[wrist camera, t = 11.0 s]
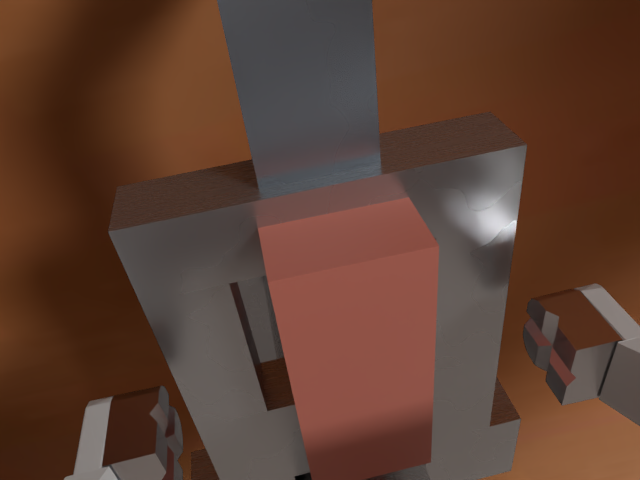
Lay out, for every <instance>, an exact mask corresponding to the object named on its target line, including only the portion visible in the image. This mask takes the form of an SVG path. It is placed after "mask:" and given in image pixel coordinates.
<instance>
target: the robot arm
mask: <svg viewBox="0 0 640 480" xmlns="http://www.w3.org/2000/svg"><path fill="white" fill-rule="evenodd" d="M527 313H528V314H529V315H530V317H531V318H530V319H529V320H528V321H527V322H526V324H525V325H524V331H523V338H524V343H525V348H526V350H527V352H528V354H529V357H530V358H531V360H532V361H533V363H534V364H535V365H536V366H538V367H539V368H541V369H543V370H545V371H547V374H546V382H547V384H548V385H549V387H550V388H551V390H552V391H553V393H554V394H555V396H556V397H557V399H558V400H559V402H560V403H561V405H566V404H571V403H575V402H580V401H584V400H589V399H593V398H598V397H599V400H601V401H602V402H604V403H605V404H607V405H608V406H610V407H612V408H613V409H615V410H616V411H618V412H619V413H621V414H622V415H624V416H625V417H627V418H628V419H630V420H631V421H633V422H634V423H636V424H638V425H639V426H640V326H639V325H638V324H637V323H636V322H635V321H634V320H633V319H632V318H631V317H630V316H629V315H628V313H627V312H626V311H625V310H624V309H623V308H622V307H621V306H620V305H619V304H618V303H617V302H616V301H615V300H614V299H613V298H612V297H611V295H610V294H609V293H608V292H607V291H606V290H605V289H604V288H603V287H602V286H600V285H598V284H596V283H595V284H591V285H587V286H583V287H578V288H574V289H568V290H564V291H560V292H556V293H552V294H548V295H544V296H540V297H536V298H532V299H531V300H530V301H529V302H528V306H527ZM182 452H183V436H182V428H181V423H180V419H179V416H178V414H177V411H176V409H175V408H174V407H172V406H169V394H168V393H167V391H166V389H165V387H164V386H158V387H153V388H148V389H144V390H139V391H134V392H129V393H124V394H120V395H115V396H111V397H106V398H102V399H97V400H93V401H89V403H88V405H87V407H86V408H85V412H84V418H83V423H82V429H81V434H80V440H79V445H78V450H77V456H76V461H75V467H74V472H73V475H70V476H67V477H65V478H64V480H183V470H182V468H181V466H180V464H179V462H178V458H179V457H180V455H181V453H182Z"/></svg>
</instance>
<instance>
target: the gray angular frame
mask: <svg viewBox="0 0 640 480" xmlns="http://www.w3.org/2000/svg"><path fill="white" fill-rule="evenodd" d="M217 2H218V6H219V11H220V15H221V20H222V24H223V29H224V33H225V38H226V42H227V47H228V51H229V56H230V60H231V65H232V70H233V74H234V79H235V83H236V88H237V92H238V97H239V101H240V106H241V110H242V115H243V119H244V124H245V128H246V133H247V137H248V142H249V146H250V151H251V155H252V160H247V161H242V162H237V163H232V164H227V165H223V166H218V167H213V168H208V169H203V170H198V171H193V172H188V173H183V174H178V175H173V176H168V177H163V178H158V179H153V180H148V181H143V182H138V183H133V184H128V185H123V186H118V187H117V190H116V195H115V199H114V204H113V209H112V214H111V219H110V224H109V229H108V233H109V235H110V238H111V240H112V242H113V244H114V246H115V249H116V251H117V253H118V255H119V257H120V260H121V262H122V264H123V266H124V269H125V271H126V273H127V275H128V277H129V280H130V282H131V284H132V286H133V288H134V291H135V293H136V295H137V297H138V300H139V302H140V304H141V306H142V308H143V311H144V313H145V315H146V317H147V319H148V322H149V324H150V326H151V328H152V331H153V333H154V335H155V337H156V339H157V342H158V344H159V346H160V348H161V350H162V353H163V355H164V357H165V359H166V362H167V364H168V366H169V368H170V370H171V373H172V375H173V377H174V379H175V381H176V384H177V386H178V388H179V390H180V393H181V395H182V397H183V399H184V401H185V404H186V406H187V408H188V410H189V412H190V415H191V417H192V419H193V421H194V424H195V426H196V428H197V430H198V432H199V435H200V437H201V439H202V441H203V443H204V446H205V448H206V449H203V450H199V451H194V452H191V480H312V478H311V473H310V469H309V464H308V460H307V455H306V451H305V447H304V442H303V438H302V433H301V429H300V424H299V420H298V415H297V411H296V406H295V402H294V397H293V393H292V388H291V384H290V379H289V375H288V371H287V366H286V362H285V357H284V353H283V348H282V344H281V339H280V335H279V330H278V326H277V321H276V317H275V312H274V308H273V303H272V299H271V294H270V290H269V286H268V281H267V275H266V270H265V264H264V259H263V254H262V248H261V243H260V237H259V232H258V228H260V227H265V226H270V225H275V224H280V223H285V222H290V221H295V220H299V219H304V218H309V217H314V216H319V215H324V214H329V213H334V212H339V211H344V210H349V209H354V208H359V207H364V206H368V205H373V204H378V203H383V202H388V201H393V200H398V199H403V198H408V197H409V198H410V200H411V201H412V203H413V205H414V206H415V208H416V209H417V211H418V213H419V214H420V216H421V217H422V219H423V221H424V222H425V224H426V225H427V227H428V229H429V230H430V232H431V233H432V235H433V237H434V238H435V240H436V241H437V243H438V245H439V264H438V291H437V317H436V343H435V369H434V395H433V422H432V448H431V463H427V464H423V465H419V466H415V467H411V468H407V469H403V470H399V471H395V472H391V473H387V474H383V475H379V476H375V477H371V478H367V479H363V480H477V479H481V478H484V477H488V476H492V475H496V474H500V473H504V472H507V471H511V468H512V463H513V457H514V452H515V447H516V442H517V437H518V431H519V426H520V421H521V418H520V416H519V415H518V413H517V411H516V409H515V408H514V406H513V404H512V402H511V401H510V399H509V397H508V396H507V394H506V392H505V390H504V389H503V387H502V385H501V383H500V382H499V380H498V378H497V377H496V375H497V367H498V360H499V352H500V345H501V337H502V330H503V322H504V315H505V307H506V300H507V292H508V285H509V277H510V270H511V262H512V255H513V247H514V240H515V232H516V225H517V217H518V210H519V202H520V195H521V187H522V180H523V172H524V165H525V157H526V150H527V144H526V143H525V142H524V141H523V140H522V139H520V138H519V137H518V136H517V135H516V134H515V133H514V132H513V131H511V130H510V129H509V128H508V127H507V126H506V125H505V124H504V123H502V122H501V121H500V120H499V119H498V118H497V117H496V116H495V115H493V114H492V113H491V112H485V113H481V114H476V115H471V116H466V117H461V118H456V119H451V120H446V121H441V122H436V123H431V124H426V125H421V126H416V127H411V128H406V129H401V130H396V131H391V132H386V133H381V134H379V122H378V103H377V85H376V67H375V48H374V30H373V12H372V0H217Z"/></svg>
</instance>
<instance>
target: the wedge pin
mask: <svg viewBox="0 0 640 480" xmlns="http://www.w3.org/2000/svg"><path fill="white" fill-rule="evenodd" d="M258 232H259V237H260V243H261V248H262V254H263V259H264V264H265V270H266V275H267V281H268V286H269V290H270V294H271V299H272V303H273V308H274V312H275V317H276V321H277V326H278V330H279V335H280V339H281V344H282V348H283V353H284V357H285V362H286V366H287V371H288V375H289V379H290V384H291V388H292V393H293V397H294V402H295V406H296V411H297V415H298V420H299V424H300V429H301V433H302V438H303V442H304V447H305V451H306V455H307V460H308V464H309V469H310V473H311V478H312V480H363V479H367V478H371V477H375V476H379V475H383V474H387V473H391V472H395V471H399V470H403V469H407V468H411V467H415V466H419V465H423V464H427V463H431V448H432V422H433V395H434V369H435V343H436V317H437V291H438V264H439V245H438V243H437V241H436V240H435V238H434V237H433V235H432V233H431V232H430V230H429V229H428V227H427V225H426V224H425V222H424V221H423V219H422V217H421V216H420V214H419V213H418V211H417V209H416V208H415V206H414V205H413V203H412V201H411V200H410V198H409V197H408V198H403V199H398V200H393V201H388V202H383V203H378V204H373V205H368V206H364V207H359V208H354V209H349V210H344V211H339V212H334V213H329V214H324V215H319V216H314V217H309V218H304V219H299V220H295V221H290V222H285V223H280V224H275V225H270V226H265V227H260V228H258Z"/></svg>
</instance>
